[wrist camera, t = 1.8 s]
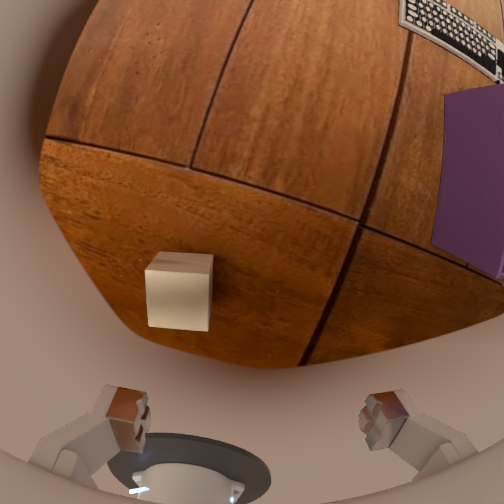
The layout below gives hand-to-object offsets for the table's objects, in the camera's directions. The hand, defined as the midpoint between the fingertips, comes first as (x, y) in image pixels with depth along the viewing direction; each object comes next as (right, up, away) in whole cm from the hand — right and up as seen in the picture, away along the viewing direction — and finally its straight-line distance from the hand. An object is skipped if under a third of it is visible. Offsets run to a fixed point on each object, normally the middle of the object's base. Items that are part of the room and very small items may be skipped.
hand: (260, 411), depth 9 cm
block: (-6, +3, +15) cm, 16 cm away
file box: (+24, +13, +14) cm, 31 cm away
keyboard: (+22, +29, +9) cm, 37 cm away
